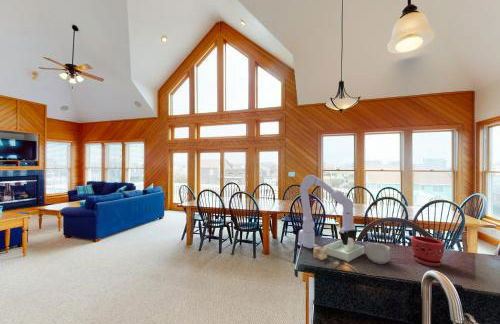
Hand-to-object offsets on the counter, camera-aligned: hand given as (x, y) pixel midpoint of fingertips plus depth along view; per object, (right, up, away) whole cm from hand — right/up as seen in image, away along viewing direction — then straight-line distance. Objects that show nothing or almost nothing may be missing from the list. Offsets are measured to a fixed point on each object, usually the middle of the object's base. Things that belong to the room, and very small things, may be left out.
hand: (347, 243), depth 126 cm
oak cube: (-19, -4, -10) cm, 22 cm away
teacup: (+10, -5, -13) cm, 17 cm away
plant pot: (+35, -5, -14) cm, 38 cm away
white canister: (0, -4, 0) cm, 4 cm away
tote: (-4, -4, -3) cm, 7 cm away
